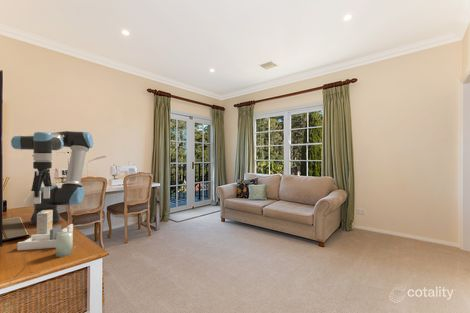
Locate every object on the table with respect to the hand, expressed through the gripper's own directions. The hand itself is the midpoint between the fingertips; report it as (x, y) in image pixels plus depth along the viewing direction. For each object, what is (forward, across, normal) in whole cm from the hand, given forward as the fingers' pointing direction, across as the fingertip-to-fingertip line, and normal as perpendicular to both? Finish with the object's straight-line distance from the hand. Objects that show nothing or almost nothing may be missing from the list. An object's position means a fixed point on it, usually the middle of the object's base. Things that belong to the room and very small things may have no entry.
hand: (42, 200), depth 120 cm
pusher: (+18, +14, +12) cm, 26 cm away
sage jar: (+19, +29, +17) cm, 38 cm away
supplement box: (+20, -3, 0) cm, 20 cm away
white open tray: (+19, +13, +6) cm, 24 cm away
